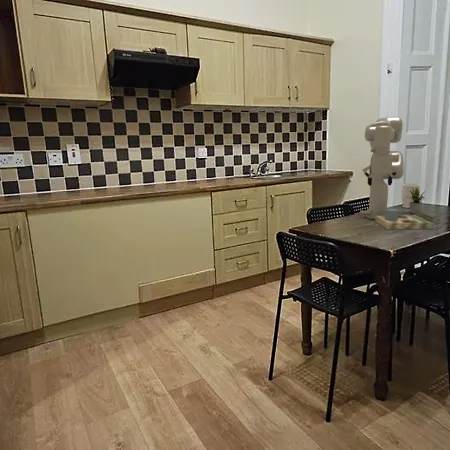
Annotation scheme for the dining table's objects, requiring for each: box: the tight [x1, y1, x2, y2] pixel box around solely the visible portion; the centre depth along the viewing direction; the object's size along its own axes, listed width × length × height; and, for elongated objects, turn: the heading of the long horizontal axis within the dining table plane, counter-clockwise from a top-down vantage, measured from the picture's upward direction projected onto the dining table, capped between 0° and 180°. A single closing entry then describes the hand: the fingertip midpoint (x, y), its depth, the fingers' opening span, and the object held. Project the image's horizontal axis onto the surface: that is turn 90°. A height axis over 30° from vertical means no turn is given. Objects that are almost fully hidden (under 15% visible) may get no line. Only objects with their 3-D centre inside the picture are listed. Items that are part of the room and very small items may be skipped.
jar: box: [401, 183, 421, 209], centre depth 240 cm, size 11×10×15 cm
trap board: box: [374, 210, 436, 230], centre depth 192 cm, size 22×20×6 cm
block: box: [385, 208, 400, 220], centre depth 192 cm, size 5×5×5 cm
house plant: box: [404, 187, 426, 215], centre depth 222 cm, size 14×14×16 cm
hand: (379, 185), depth 189 cm, fingers open, 9 cm apart
